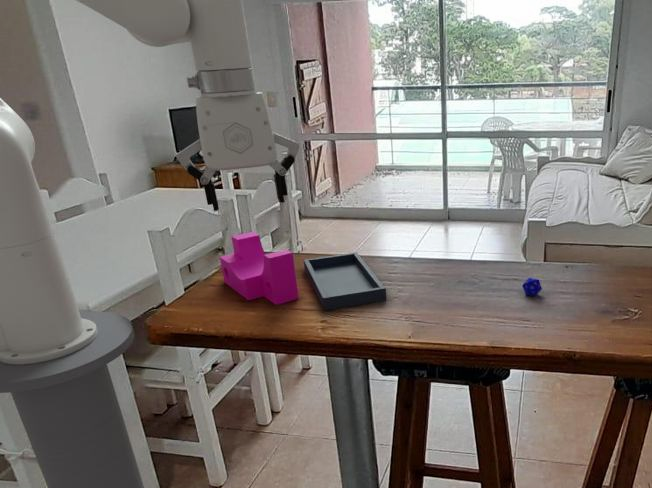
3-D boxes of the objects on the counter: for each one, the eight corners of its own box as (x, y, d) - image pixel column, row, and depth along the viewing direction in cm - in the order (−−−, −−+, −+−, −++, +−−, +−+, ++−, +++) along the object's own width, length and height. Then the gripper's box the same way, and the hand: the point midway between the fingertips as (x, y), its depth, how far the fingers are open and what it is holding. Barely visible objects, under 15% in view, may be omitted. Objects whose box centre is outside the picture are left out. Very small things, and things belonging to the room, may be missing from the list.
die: (523, 299, 86) (517, 280, 87) (530, 299, 89) (524, 281, 89) (539, 293, 85) (533, 274, 86) (546, 293, 87) (540, 275, 88)
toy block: (224, 282, 97) (216, 239, 93) (259, 273, 100) (252, 231, 97) (260, 309, 86) (253, 262, 82) (298, 298, 89) (292, 252, 86)
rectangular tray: (324, 310, 85) (322, 298, 84) (304, 270, 101) (303, 259, 100) (386, 300, 87) (385, 288, 86) (357, 262, 103) (357, 252, 102)
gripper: (159, 89, 74) (188, 218, 81) (293, 80, 79) (309, 203, 86) (162, 86, 80) (189, 206, 88) (286, 78, 85) (302, 192, 93)
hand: (249, 204), depth 87 cm, fingers open, 9 cm apart
